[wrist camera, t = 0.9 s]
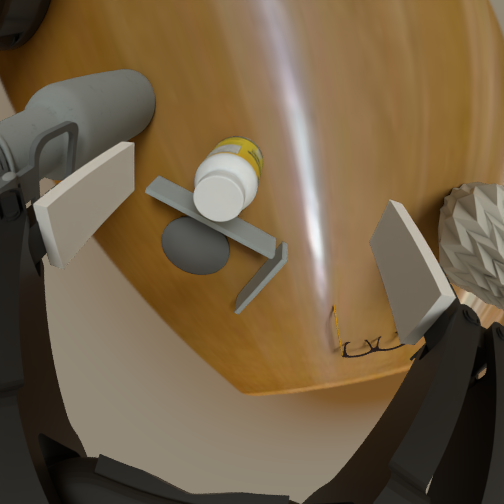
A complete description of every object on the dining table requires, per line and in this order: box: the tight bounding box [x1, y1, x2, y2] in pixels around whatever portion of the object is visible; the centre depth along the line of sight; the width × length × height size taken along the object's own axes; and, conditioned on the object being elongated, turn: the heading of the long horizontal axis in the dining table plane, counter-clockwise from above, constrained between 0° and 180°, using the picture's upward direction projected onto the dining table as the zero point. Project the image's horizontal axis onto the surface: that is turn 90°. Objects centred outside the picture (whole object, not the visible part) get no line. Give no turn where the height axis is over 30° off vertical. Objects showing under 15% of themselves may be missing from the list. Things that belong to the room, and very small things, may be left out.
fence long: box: [145, 176, 276, 259], centre depth 37 cm, size 19×1×4 cm, turn 60°
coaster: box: [162, 216, 230, 275], centre depth 43 cm, size 11×11×1 cm
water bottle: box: [0, 69, 155, 205], centre depth 19 cm, size 10×10×28 cm
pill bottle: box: [193, 136, 263, 222], centre depth 29 cm, size 6×6×12 cm
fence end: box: [234, 242, 287, 314], centre depth 43 cm, size 1×14×4 cm, turn 150°
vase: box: [438, 182, 504, 311], centre depth 26 cm, size 16×16×18 cm
